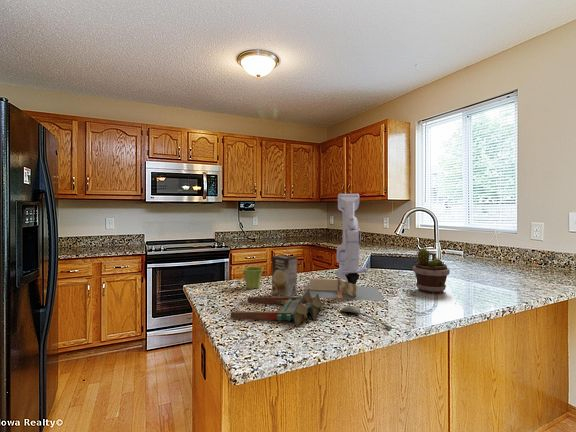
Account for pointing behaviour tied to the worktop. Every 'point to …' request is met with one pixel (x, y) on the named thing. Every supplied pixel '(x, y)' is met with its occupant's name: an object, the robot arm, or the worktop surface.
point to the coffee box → (284, 275)
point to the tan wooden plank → (347, 287)
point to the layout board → (331, 290)
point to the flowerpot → (430, 273)
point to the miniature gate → (284, 308)
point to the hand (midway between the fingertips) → (351, 291)
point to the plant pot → (252, 277)
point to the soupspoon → (357, 310)
